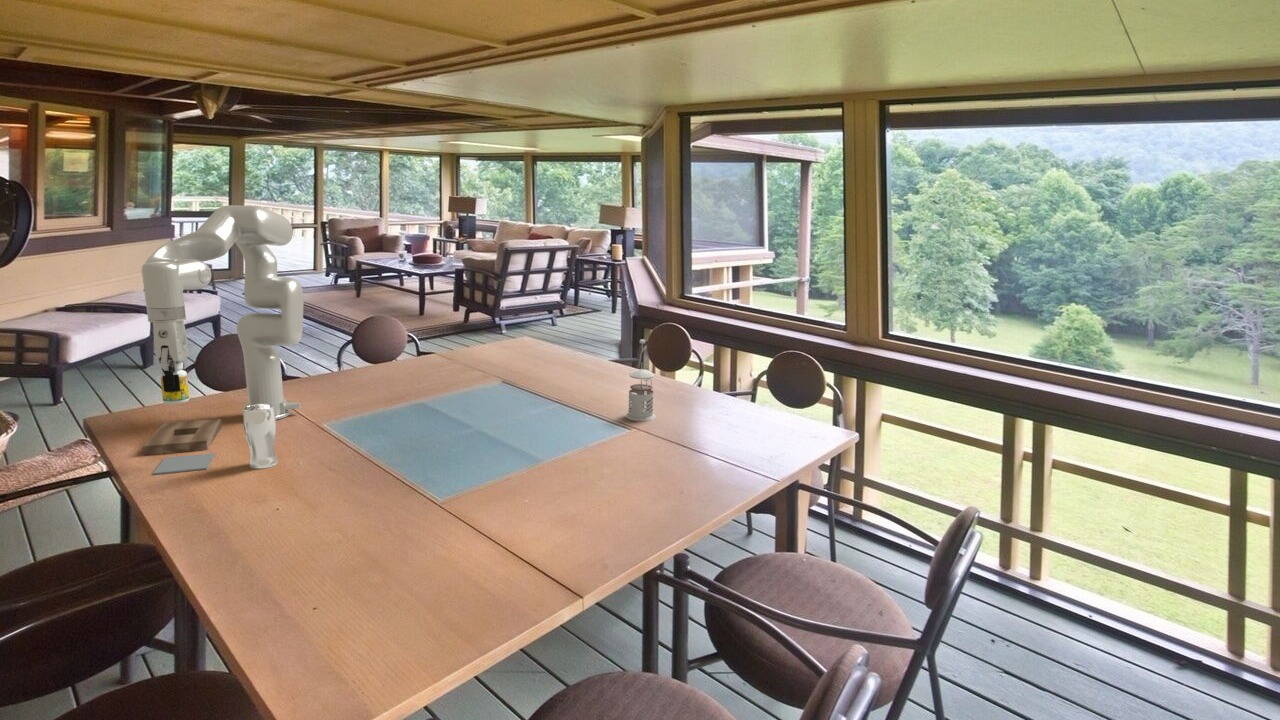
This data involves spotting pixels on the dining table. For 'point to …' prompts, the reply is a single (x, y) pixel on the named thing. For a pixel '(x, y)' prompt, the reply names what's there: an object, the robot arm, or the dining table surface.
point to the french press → (641, 396)
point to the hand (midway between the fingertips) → (175, 387)
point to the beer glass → (260, 434)
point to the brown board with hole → (183, 437)
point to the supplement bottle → (183, 393)
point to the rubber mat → (184, 463)
